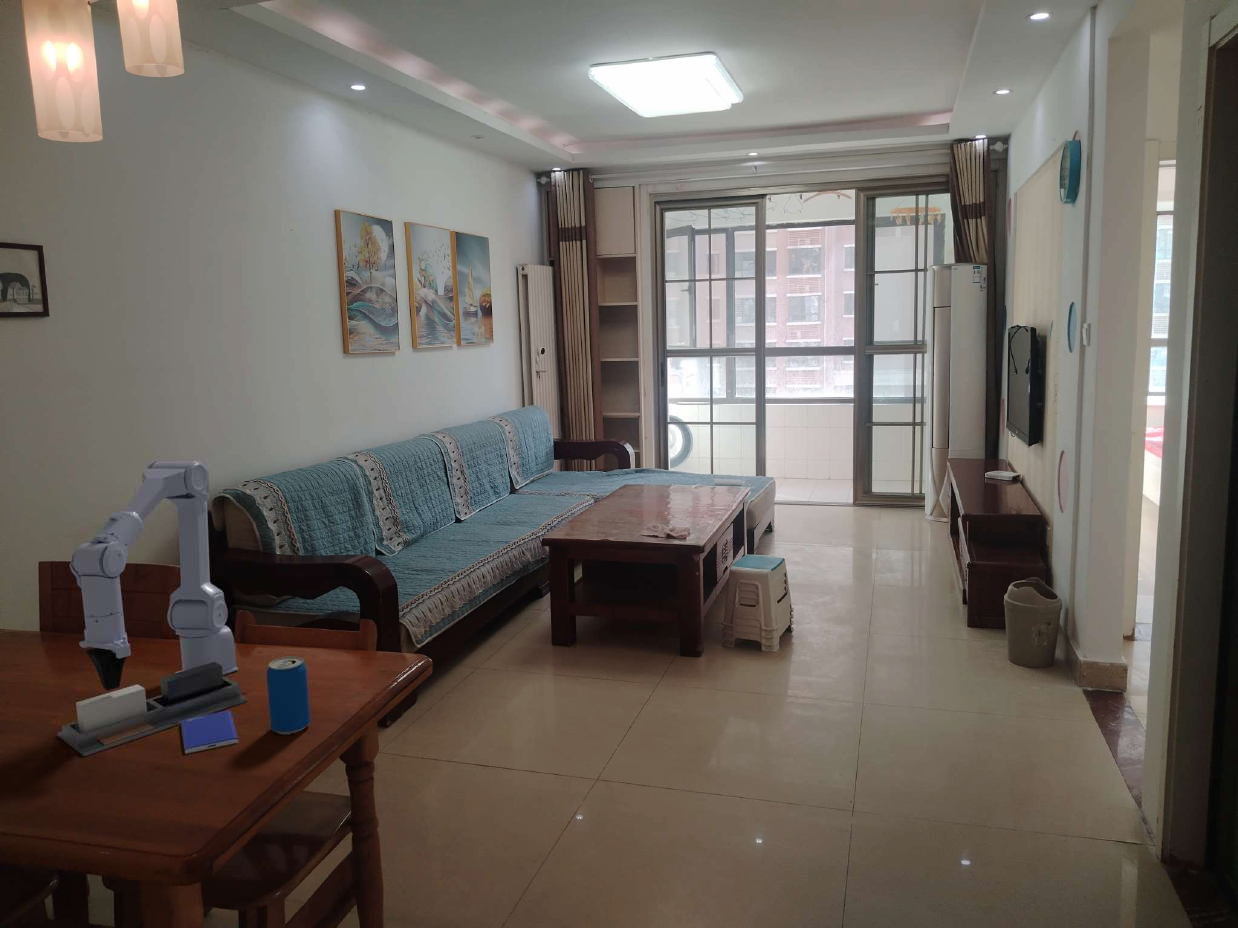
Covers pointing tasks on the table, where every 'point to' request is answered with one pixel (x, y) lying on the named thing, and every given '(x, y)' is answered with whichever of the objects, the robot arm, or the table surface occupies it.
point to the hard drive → (208, 731)
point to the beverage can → (288, 695)
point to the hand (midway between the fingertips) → (111, 687)
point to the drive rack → (163, 709)
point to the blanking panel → (111, 708)
